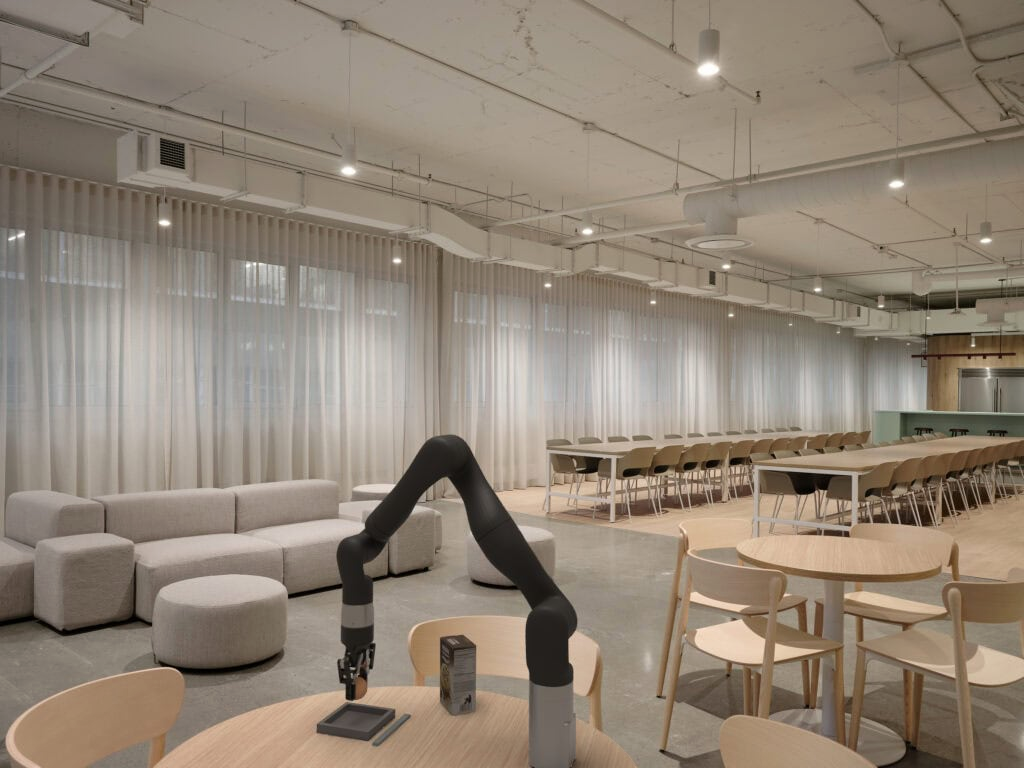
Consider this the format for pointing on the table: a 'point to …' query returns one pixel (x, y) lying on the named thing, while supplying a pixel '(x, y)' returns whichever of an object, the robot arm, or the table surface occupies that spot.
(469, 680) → the coffee box
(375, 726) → the tray
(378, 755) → the table surface
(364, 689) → the ball
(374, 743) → the distance line
